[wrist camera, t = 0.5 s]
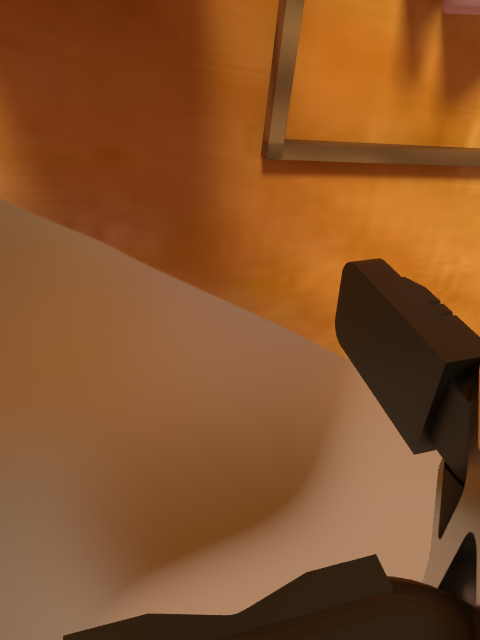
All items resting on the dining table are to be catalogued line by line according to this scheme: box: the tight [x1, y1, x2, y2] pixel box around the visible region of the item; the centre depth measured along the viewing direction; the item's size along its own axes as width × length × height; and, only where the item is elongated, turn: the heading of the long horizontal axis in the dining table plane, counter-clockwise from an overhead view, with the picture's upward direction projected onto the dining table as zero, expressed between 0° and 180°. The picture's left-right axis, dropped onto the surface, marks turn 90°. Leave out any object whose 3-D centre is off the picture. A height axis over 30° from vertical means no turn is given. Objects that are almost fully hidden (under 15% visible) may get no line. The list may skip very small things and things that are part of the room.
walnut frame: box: [261, 0, 480, 167], centre depth 36 cm, size 12×30×2 cm, turn 84°
